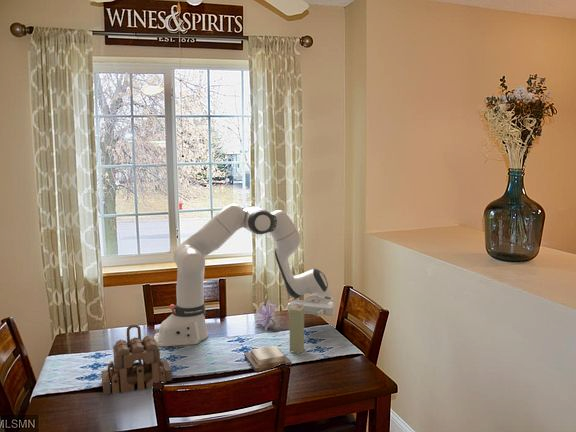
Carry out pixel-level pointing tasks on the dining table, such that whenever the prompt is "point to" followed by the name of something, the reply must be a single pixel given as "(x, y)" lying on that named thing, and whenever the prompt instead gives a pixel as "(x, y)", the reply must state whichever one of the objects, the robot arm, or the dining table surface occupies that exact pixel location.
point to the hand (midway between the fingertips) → (306, 313)
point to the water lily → (265, 315)
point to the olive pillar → (296, 327)
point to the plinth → (266, 366)
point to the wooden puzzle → (135, 365)
